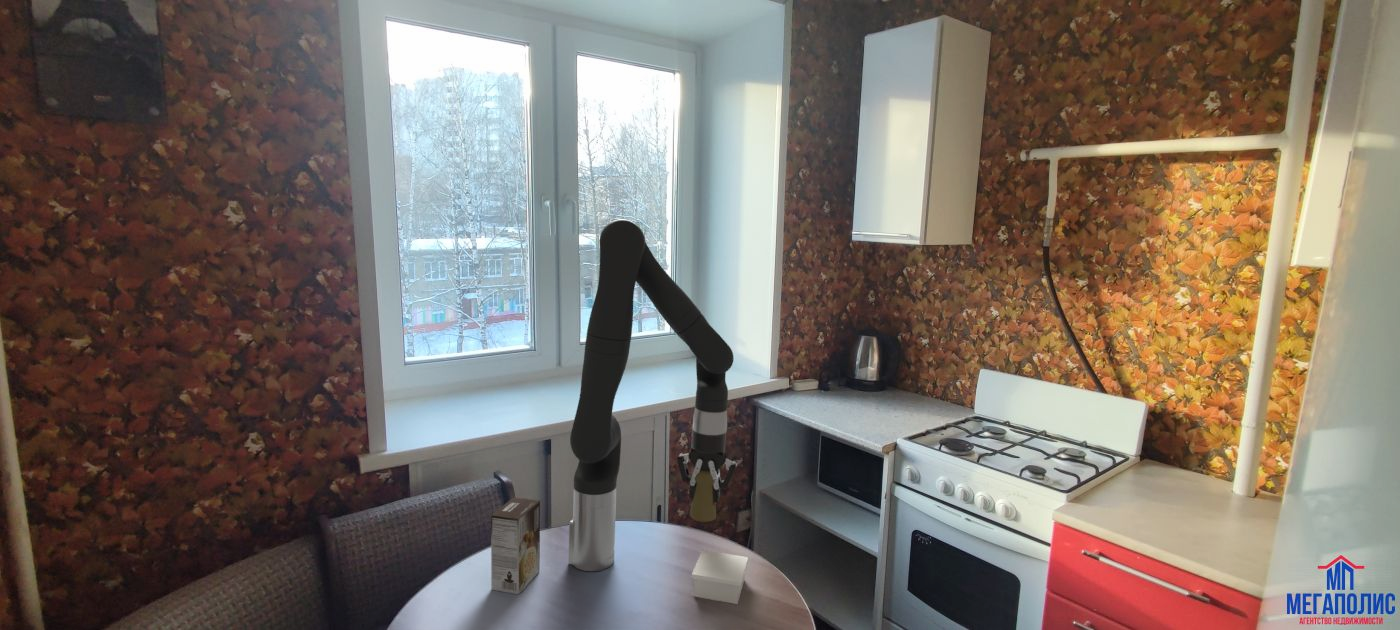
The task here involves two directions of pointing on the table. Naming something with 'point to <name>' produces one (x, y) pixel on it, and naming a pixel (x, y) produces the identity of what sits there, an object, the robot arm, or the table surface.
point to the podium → (719, 576)
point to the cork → (703, 498)
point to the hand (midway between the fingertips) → (704, 501)
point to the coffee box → (515, 545)
